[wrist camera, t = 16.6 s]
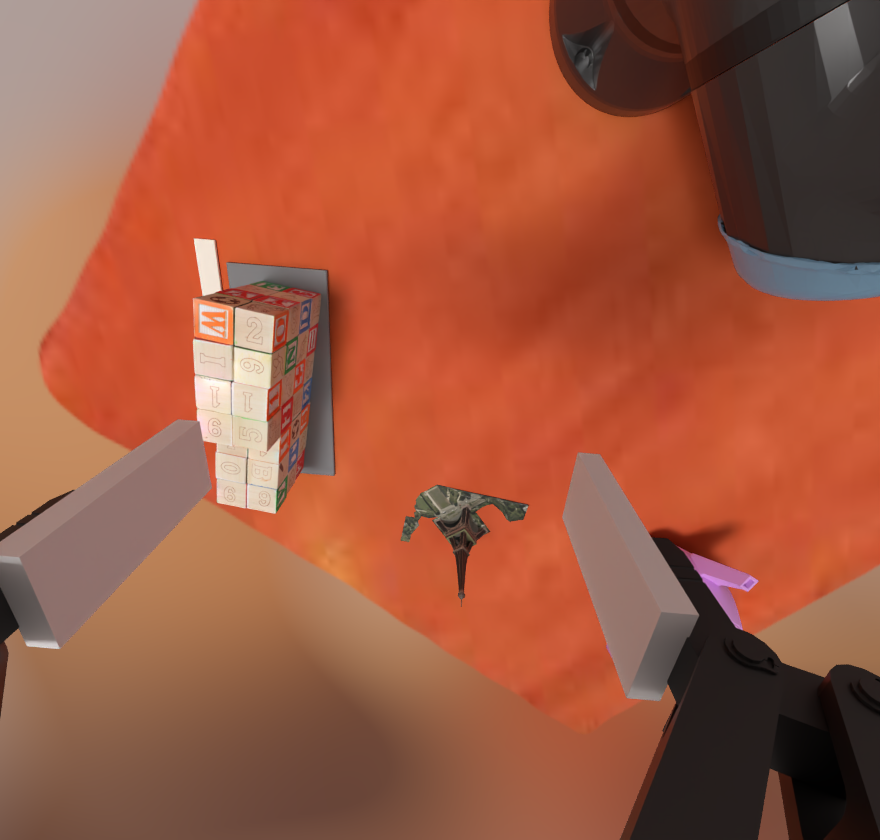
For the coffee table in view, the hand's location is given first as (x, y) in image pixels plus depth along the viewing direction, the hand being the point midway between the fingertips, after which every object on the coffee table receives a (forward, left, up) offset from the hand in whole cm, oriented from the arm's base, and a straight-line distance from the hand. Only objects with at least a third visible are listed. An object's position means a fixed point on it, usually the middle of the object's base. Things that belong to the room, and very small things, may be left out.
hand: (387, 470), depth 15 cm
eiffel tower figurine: (+27, +6, -32) cm, 43 cm away
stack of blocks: (+9, -16, -31) cm, 37 cm away
